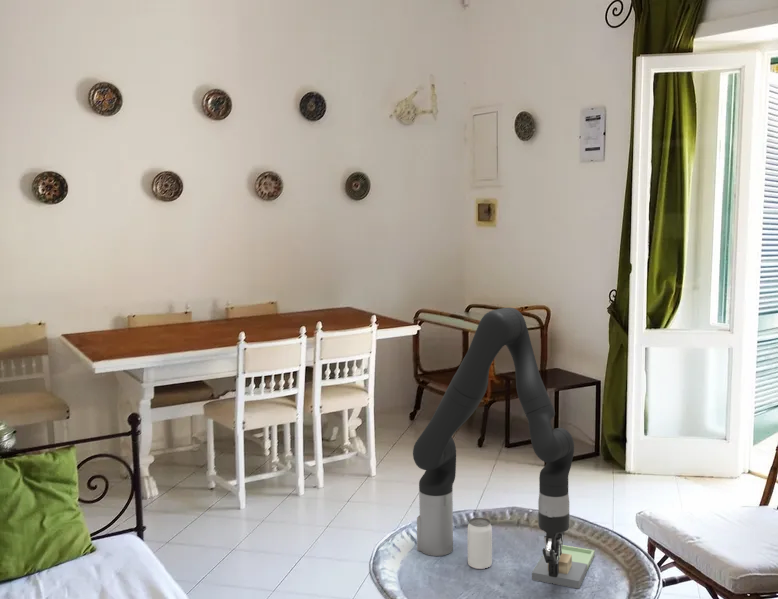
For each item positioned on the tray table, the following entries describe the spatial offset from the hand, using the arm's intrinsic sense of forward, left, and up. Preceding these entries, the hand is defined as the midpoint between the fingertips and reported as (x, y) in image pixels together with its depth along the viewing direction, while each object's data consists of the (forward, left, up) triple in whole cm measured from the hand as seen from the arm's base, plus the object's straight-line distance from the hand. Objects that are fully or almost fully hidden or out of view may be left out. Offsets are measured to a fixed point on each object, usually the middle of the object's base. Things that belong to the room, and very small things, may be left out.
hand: (553, 575), depth 204 cm
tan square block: (0, +8, -2) cm, 8 cm away
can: (-21, +6, -4) cm, 22 cm away
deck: (0, +8, -4) cm, 8 cm away
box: (0, +18, -4) cm, 18 cm away
